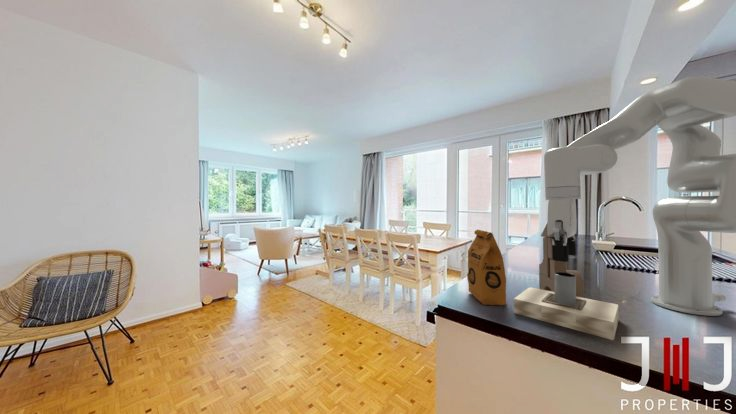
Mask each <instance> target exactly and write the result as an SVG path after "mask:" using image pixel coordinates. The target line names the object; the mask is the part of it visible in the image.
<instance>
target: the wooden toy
mask: <svg viewBox="0 0 736 414" xmlns="http://www.w3.org/2000/svg"><path fill="white" fill-rule="evenodd" d="M540 237H543V238H542V250H543V251H542V255H543V258H542V261H541V263H539V265H538V268H539V270H538V272H539V273H538V274H539V275H538V276H539V277H538V278H539V280H538V281H539V282H538V283H539V285H538V286H539V288H538V289H542V290H547V291H552V292H555V273H556V272H564V273H570V274H574V275H576V296H577V297H582V298H584V281H583V278H582V276H581V274H580V273H579V271H578V270H572V269H571V270H569V269H567V262H563V261H554V260H553V255H552V241H553V236H552V237H550V236H548V234H547V223H546V225H545V226H544V228H543V230H542V233H541V234H540Z"/></svg>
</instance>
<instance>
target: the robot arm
mask: <svg viewBox="0 0 736 414" xmlns="http://www.w3.org/2000/svg"><path fill="white" fill-rule="evenodd" d="M732 117H736V81H734V80H729V79H721V78H715V77H709V76H708V77H707V76H693V77H692V76H690V77H685V78H682V79H679V80H676V81H674V82H671V83H669V84H665V85H663V86H661V87H658V88H654V89H651V90H650V91H647V92H645V93H643V94H642V95H640V96H638V97H637V98H636V99H634V100H633V101H632V102H631V103H629V105H627V106H626V107H625V108H623V109H622V110H621V111H620V112H619V113H617V114H616V115H615V116H613V117H612V118H611V119H610V120H608V121H607V122H605V123H603V124H601V125H599V126H597V127H595V128H594V129H592V130H591V131H589V132H588V133H586V134H584V135H582V136H581V137H579V138H577V139H576V140H574V141H572V142H571V143H570V144H568V145H567V146H559V147H554V148H551V149H549V150H547V151H545V153H544V157H543V162H544V164H543V167H544V188H545V189H544V192H545V193H544V194H545V201H548V204H547V223H546V224H547V234H548V236H550V237H552V236H553V241H552V255H553V260H554V261H563V262H566V263H567V262H569V260H570V259H569V256H576V255H577V249H576V237H575V235H576V234H577V228H578V227H577V226H578V225H577V224H578V223H577V205H576V204H577V203H576V200H581V199H582V192H581V191H582V190H581V176H587V175H595V174H602V173H604V172H605V173H606V172H607V171H609V170H611V169H612V168H613V167H614V166H615V165H616V164H617V162H618V153H617V151H616V150H618V149H622V148H623V147H626V146H628V145H631V144H633V143H635V142H637V141H639V140H640V139H642V138H643V137H644V136H645V135H646V134H648V133H649V131H651V130H652V129H654V127H656V126H658V127H659V129H660V130H662V132H663V133H664V134H665V135H666V136H667V138H668V139H669V140H670V142H671V144H672V150H671V151H672V152H671V157H670V162H669V168H668V173H667V179H666V182H667V186H668V188H669V189H670V190H671V191H673V192H677V193H685V194H686V193H687V194H688V193H690V194H691V193H717V192H718V193H719V194H718V195H687V196H686V195H685V196H673V197H667V198H663V199H661V200H659V201H657V203H655V205H654V206H653V208H652V217H653V221H654V224H655V227H656V228H655V229H656V231H657V232H656V233H657V244H658V245H657V247H658V249H657V250H658V253H657V254H658V295H653V296H651V302H652V303H653V304H655V305H657V306H659V307H662V308H664V309H668V310H672V311H677V312H681V313H685V314H691V315H698V316H707V317H708V316H709V317H718V316H722V315H723V309H722V308H721V307H719V306H718V305H715V303H716V302H725V301H727V297H726V296H725V295H724V294H721V293H713V248H712V245H711V243H710V242H709V240H708V239H707V237H706V236H704V234H703V233H702V232H707V233H708V232H709V233H723V234H736V153H730V154H722V155H721V147H722V140H721V138H720V137H719V136H718V135H717V134H716V133H715V132H714V131H712V130H710V129H708V128H706V127H705V126H704V125H703V124H707V123H712V122H716V121H720V120H724V119H729V118H732Z"/></svg>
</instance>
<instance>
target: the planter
mask: <svg viewBox="0 0 736 414" xmlns="http://www.w3.org/2000/svg"><path fill="white" fill-rule="evenodd" d="M555 303H559V304H563V305H567V306H572V307H576V275H574V274H570V273H564V272H556V273H555Z"/></svg>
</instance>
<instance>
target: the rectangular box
mask: <svg viewBox="0 0 736 414" xmlns="http://www.w3.org/2000/svg"><path fill="white" fill-rule="evenodd" d="M513 313H514V314H517V315H520V316H524V317H527V318H531V319H536V320H539V321H543V322H546V323H549V324H553V325H557V326H561V327H564V328H566V329H567V328H568V329H570V330H573V331H574V330H575V331H579V332H582V333H585V334H590V335H593V336H596V337H597V336H598V337H600V338H604V339H608V340H610V341H615V337H616V332H617V328H618V323H619V321H620V320H619V304H616V303H611V302H606V301H601V300H595V299H593V298H592V299H591V298H586V297H583V298H582V297H577V296H576V307H572V306H567V305H563V304H559V303H555V292H552V291H547V290H542V289H539V288H537V287H536V288H535V287H531V286H530V287H527V288H526V289H525V290H523V291H522V292H521V293H519V294H518V295H516V296H515V297H514V298H513Z"/></svg>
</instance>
